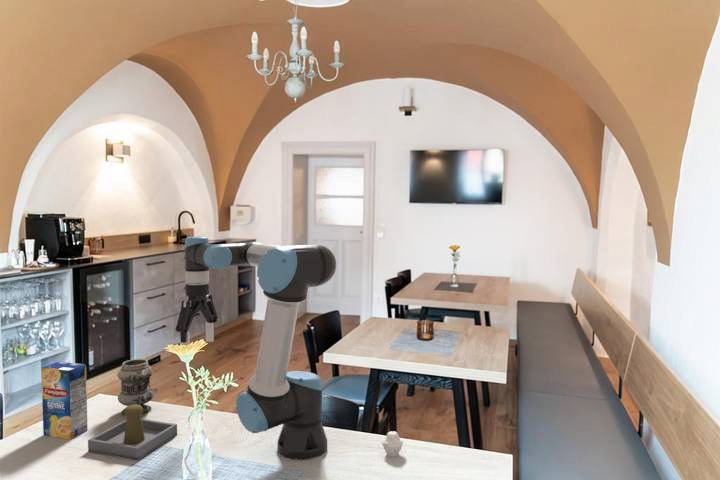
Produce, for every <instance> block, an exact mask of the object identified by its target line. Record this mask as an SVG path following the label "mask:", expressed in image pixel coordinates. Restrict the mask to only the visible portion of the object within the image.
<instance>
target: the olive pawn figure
mask: <svg viewBox="0 0 720 480" xmlns="http://www.w3.org/2000/svg"><path fill="white" fill-rule="evenodd" d="M125 408H126V409H125ZM125 408H124V409H125V416H124V417H125V420H126V427H125V435H124V443H125V444H128V445H133V444H138V443H141V442H143V441H144V440H145V437H144V431H143V425H142V419H143V418H142V416H143V415H142V412H143V408H142V406H141V405H138V404H133V405H129V406H125Z"/></svg>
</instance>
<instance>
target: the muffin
mask: <svg viewBox="0 0 720 480" xmlns="http://www.w3.org/2000/svg"><path fill="white" fill-rule="evenodd" d="M381 443H382V446H383V449H384V451H385V453H386V455H387V456H388V457H392V458H393V457H398V455H399V453H400V451H401V449H403V448H402V447H403V445H404V442H403V440H402V439H401V437H400V435H399V433H398V432H397V431H389V432H387V433H386V436H385V437H384V438H383V440H382V442H381Z"/></svg>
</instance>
